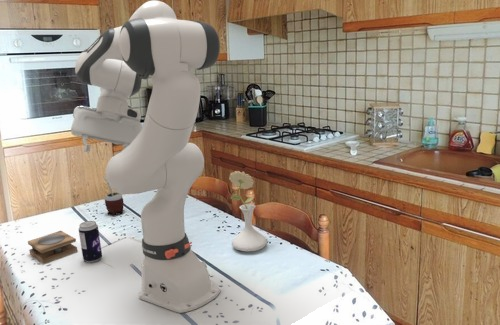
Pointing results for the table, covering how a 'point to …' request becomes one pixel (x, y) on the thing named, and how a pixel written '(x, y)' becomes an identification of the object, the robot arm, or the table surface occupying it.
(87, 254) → the beverage can
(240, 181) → the flower in vase
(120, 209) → the mate gourd
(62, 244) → the levelling stand
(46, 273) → the table surface
